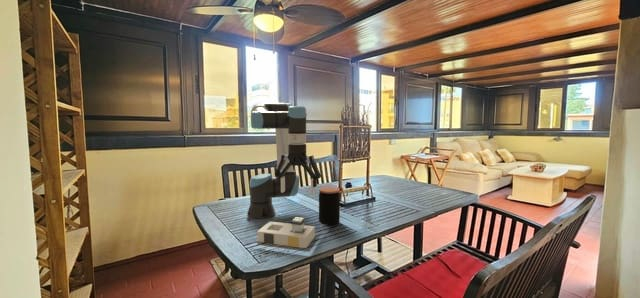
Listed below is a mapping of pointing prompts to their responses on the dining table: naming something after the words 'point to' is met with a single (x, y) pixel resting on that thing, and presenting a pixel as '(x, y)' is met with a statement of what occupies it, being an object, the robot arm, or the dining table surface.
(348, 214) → the dining table surface
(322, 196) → the coffee jar
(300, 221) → the plug
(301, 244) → the port box
